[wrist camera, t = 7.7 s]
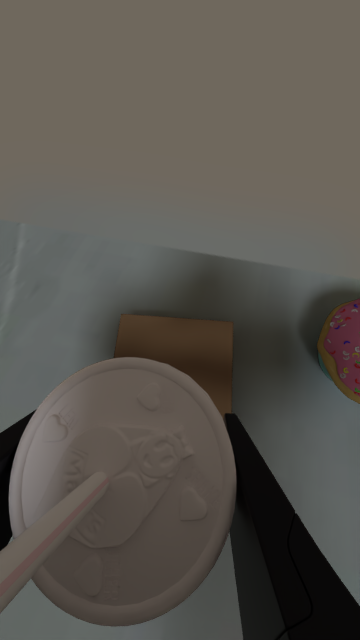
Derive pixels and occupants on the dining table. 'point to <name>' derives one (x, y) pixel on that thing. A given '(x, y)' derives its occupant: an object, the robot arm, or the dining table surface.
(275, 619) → the robot arm
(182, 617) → the dining table surface
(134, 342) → the plinth
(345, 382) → the cupcake
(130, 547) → the smoothie
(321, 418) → the dining table surface
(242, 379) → the dining table surface
